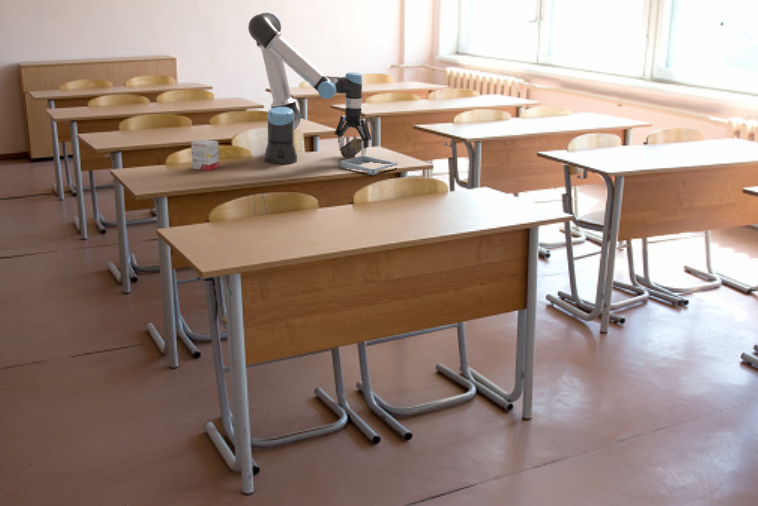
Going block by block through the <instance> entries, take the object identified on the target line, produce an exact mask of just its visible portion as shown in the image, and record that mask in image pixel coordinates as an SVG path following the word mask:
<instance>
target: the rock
mask: <svg viewBox="0 0 758 506" xmlns="http://www.w3.org/2000/svg"><path fill="white" fill-rule="evenodd" d="M362 141H363V139H362V138H360V137H357V138H352V139H351V140H350V141H349V142H347V143H346V144H344V146H343V147H342V148H341V151H340V154H341V156H342V157H344V158H346V159H350V158H355V157H356V155H358V153H361V149H362Z"/></svg>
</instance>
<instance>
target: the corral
mask: <svg viewBox="0 0 758 506" xmlns="http://www.w3.org/2000/svg"><path fill="white" fill-rule="evenodd" d="M369 162H373V163H381V164H389V165H385V166H381V167H377V168H374V169H372V168H367V167H363V166H362V165H361V164H363V163H364V164H365V163H369ZM359 165H361V166H359ZM365 165H366V164H365ZM395 165H397V166H398V162H394V161H390V160H386V159H381V158H376V157H373V156H372V157H371V156H367V155H359V156H355V158H346V159H343V160H339V161H338V168H340V167H342V168H341V169H344V168H349V169H356V170H362V171H366V172H367V174H366V175H370V176H375V175H379V173H377V172H378V171H379V170H381V169H385V168H388V167H392V166H395Z"/></svg>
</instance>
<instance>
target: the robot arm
mask: <svg viewBox="0 0 758 506" xmlns="http://www.w3.org/2000/svg"><path fill="white" fill-rule="evenodd" d="M247 27H248V33H249V35H250V37H251V38H252V39H253V40H254V41H255V43H256V47H258V49H260V50H261V54H262V58H263V59H262V60H263V63H264V66H265V72H266V75H267V76H266V77H267V80H268V84H269V90H270V93H271V97H272V103H271V104H270V109H269V110H268V111H267V116H266V117H267V145H266V149H265V153H264V155H263V161H264V162H266V163H270V164H275V165H276V164H277V165H288V164H289V165H290V164H294V163H297V162H298V154H297V153H296V147H295V145H294V144H295V143H294V139H295V138H294V134H295V133H294V132H295V130H296V129H297V128H298V126H299V125H300V123H301V117H302V116H301V113H300V110H299V108H298V107H297V102H296V100H295V99H294V98H293V97H292V94H291V89H290V86H289V81H288V77H287V72H286V67H285V64H286V65H287V66H288V67H289V68H290V69H292V70H293V71H294V72H295V73H296V74H298V75H299V77H301V78H302V79H303V80H304V81H305V82H307V83H308V84H309V85H310V86H311V87H312V88H313V89H314V90H315V91H317V92H318V95H319V96H320V97H321V98H322V99H326V100H330V99H331V98H332V99H333V97H335V95H336V94H337V95H339V94H341V95H343V94H345V96H344V97H345V102H344V103H345V107H344V108H345V109H344V110H345V111H344V115H340V118H339V121H338V124H337V127H336V130H335V131H334V135H335V136H337V140H338V141H337V143H338V148H339V149H338V151H340V152H341V148H342V147H343V146H345V136H344V135H345V134H346V132H347V130H349V128H353V129H355V130H357V133H358V134H359V136H360V137H361V139H363V141H362V149H361V151H360V154H361V155H360V156H363V155H364V156H367V149H368V147H369V146H368V145H369V141H371V140H372V136H371V133H370V130H369V127H368V124H367V119H366V118H363V119H362V118H361V116H362V107H363V106H362V99H363V98H362V96H363V94H362V93H363V76H362V73H360V72H346V74H345V76H329V75H325V73H323V72H322V71H321V70H320V69H319V68H318V67H316V65H314V64H313V62H311V61H310V60H309V59H307V58H306V57H305V56H304V55H303V54H302V53H300V52H299V50H297V49H296V48H295V47H294V46H293V45H292V44H291V43H290V42H289V41H287V40H286V39H285V38H284V37H282V34H281V32H282V31H281V30H282V25H281V20H280V18H278V16H277V15H275V14H273V13H270V12H262V13H260V14H256V15H254V16H252V17H251V19H250V20H249V22H248V26H247Z"/></svg>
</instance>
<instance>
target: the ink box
mask: <svg viewBox="0 0 758 506" xmlns="http://www.w3.org/2000/svg"><path fill="white" fill-rule="evenodd" d="M190 143H191V163H192V164H191V165H192V169H195V170H201V171H212V170H214V169H218V168H220V160H219V159H220V158H219V141H218V140H211V139H205V138H202V139H199V140H195V141H191V142H190Z"/></svg>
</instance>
